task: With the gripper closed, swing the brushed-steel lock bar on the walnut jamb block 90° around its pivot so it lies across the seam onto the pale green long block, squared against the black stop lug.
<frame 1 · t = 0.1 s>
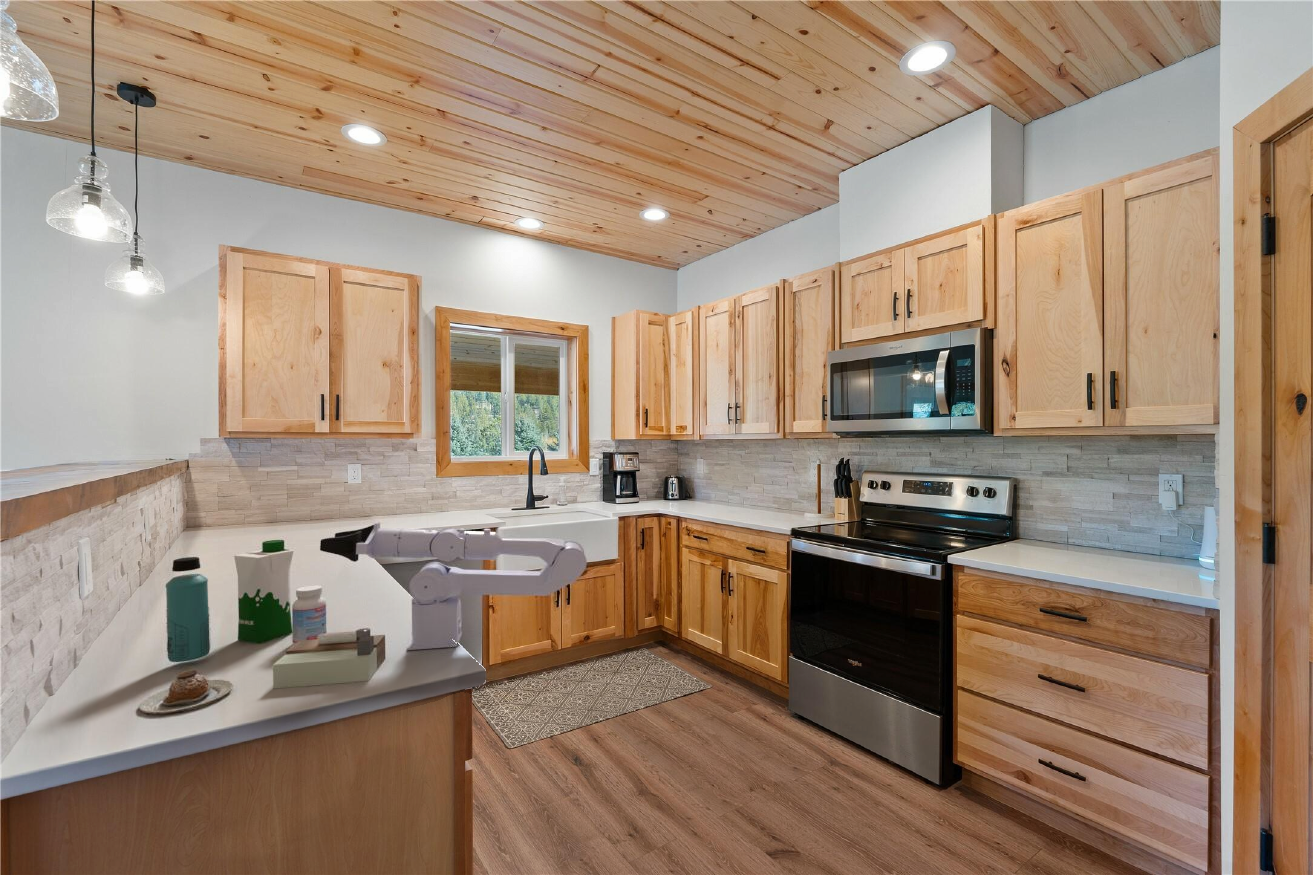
hand: (328, 541, 118), 22 cm above the countertop, tool horizontal, fingers open, 7 cm apart
pastry: (188, 703, 96), on the countertop
lock bar: (344, 636, 109), point 6 cm above the countertop, hinge at 0.0°
pale green long block: (327, 678, 104), on the countertop
jamb: (337, 667, 109), on the countertop
milk carton: (265, 637, 127), on the countertop
pill bottle: (309, 643, 123), on the countertop
beverage bottle: (188, 665, 112), on the countertop
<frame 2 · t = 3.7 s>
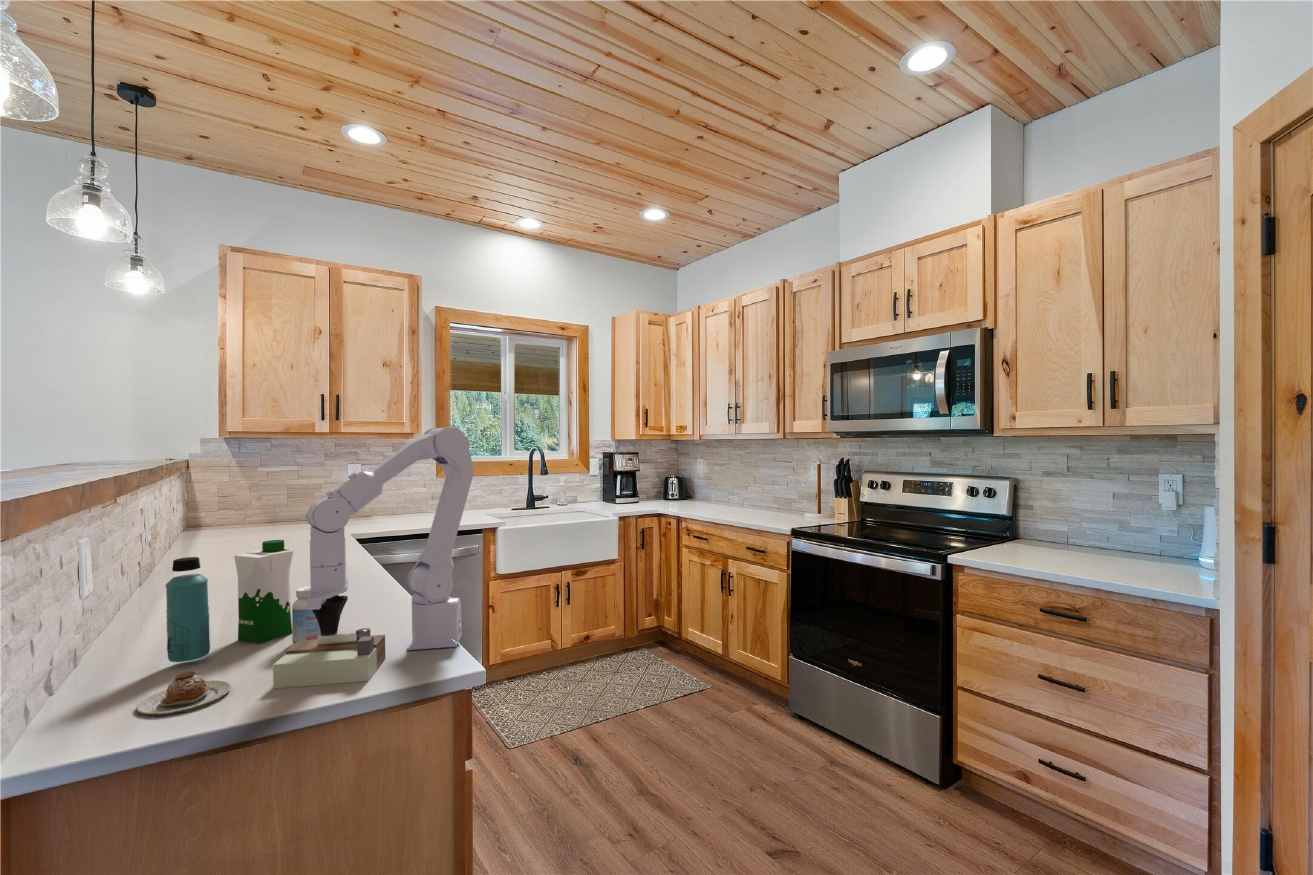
hand: (329, 638, 109), 5 cm above the countertop, tool pointing down, fingers closed, pressing on lock bar
lock bar: (344, 636, 109), point 6 cm above the countertop, hinge at 1.4°, touching gripper
everything else where it was.
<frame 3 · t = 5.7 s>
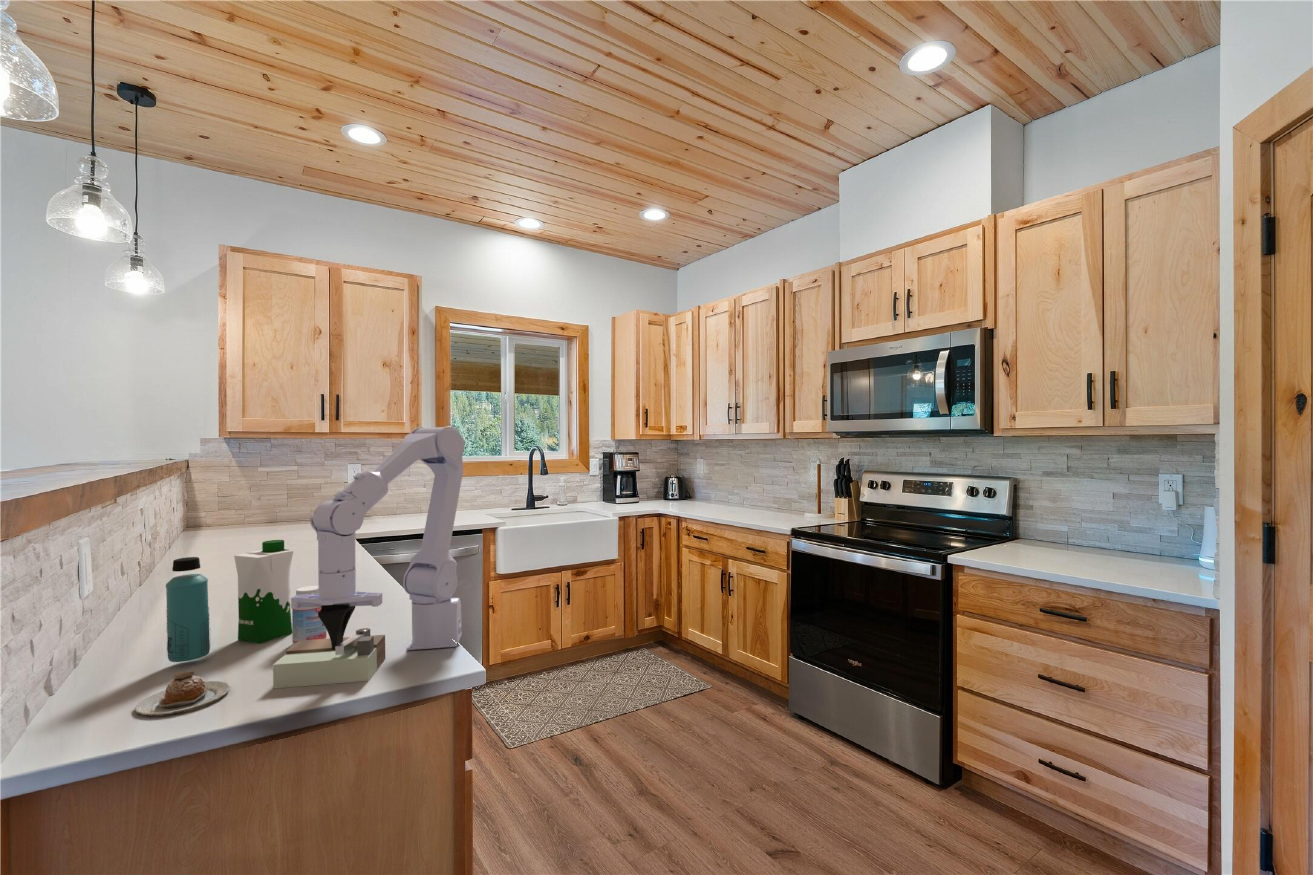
hand: (337, 648, 103), 5 cm above the countertop, tool pointing down, fingers closed, pressing on lock bar
lock bar: (353, 641, 106), point 6 cm above the countertop, hinge at 77.5°, touching gripper
everything else where it was.
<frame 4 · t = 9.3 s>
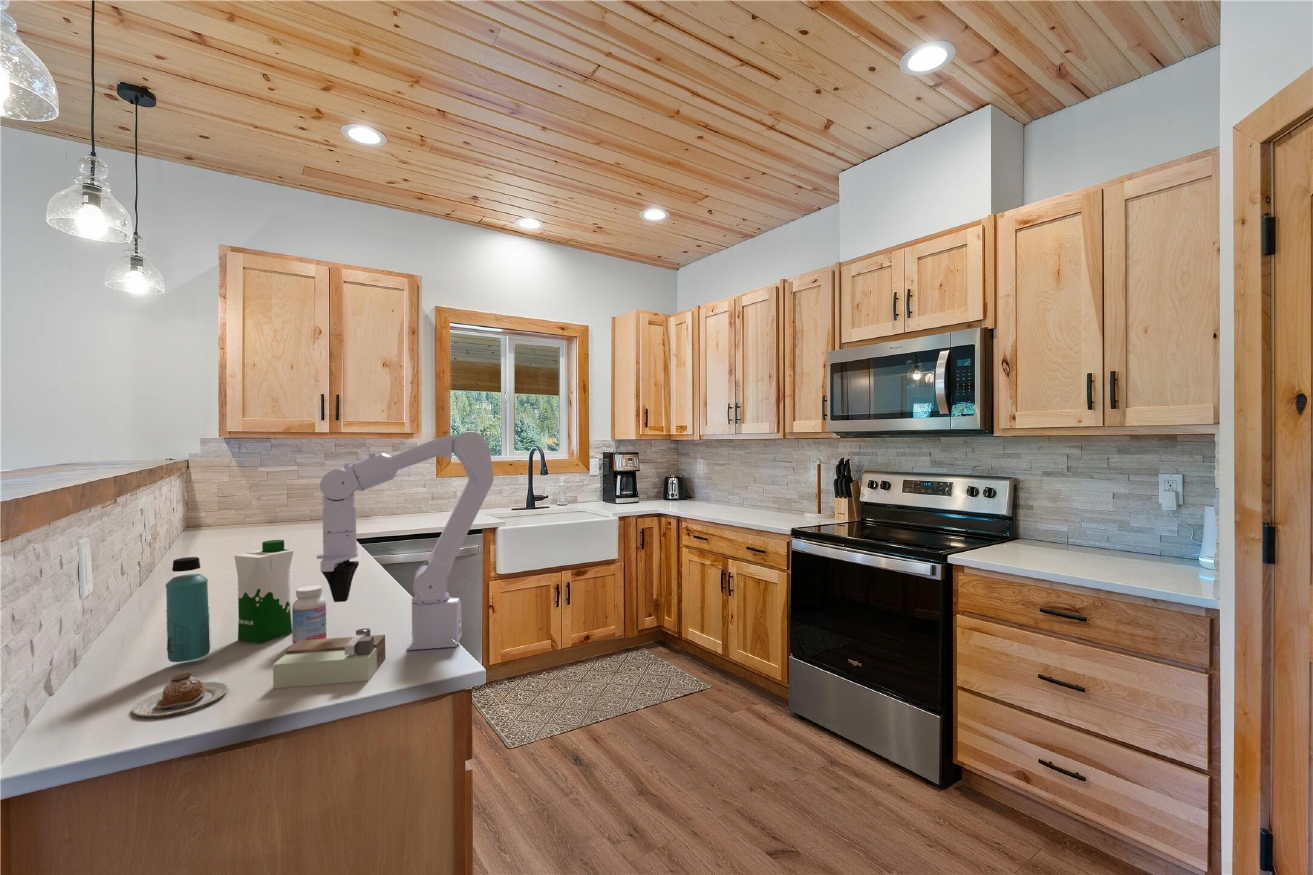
hand: (340, 600, 115), 10 cm above the countertop, tool pointing down, fingers closed
lock bar: (357, 640, 106), point 6 cm above the countertop, hinge at 89.6°
at the end: lock bar at +90° (first picture: +0°) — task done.
